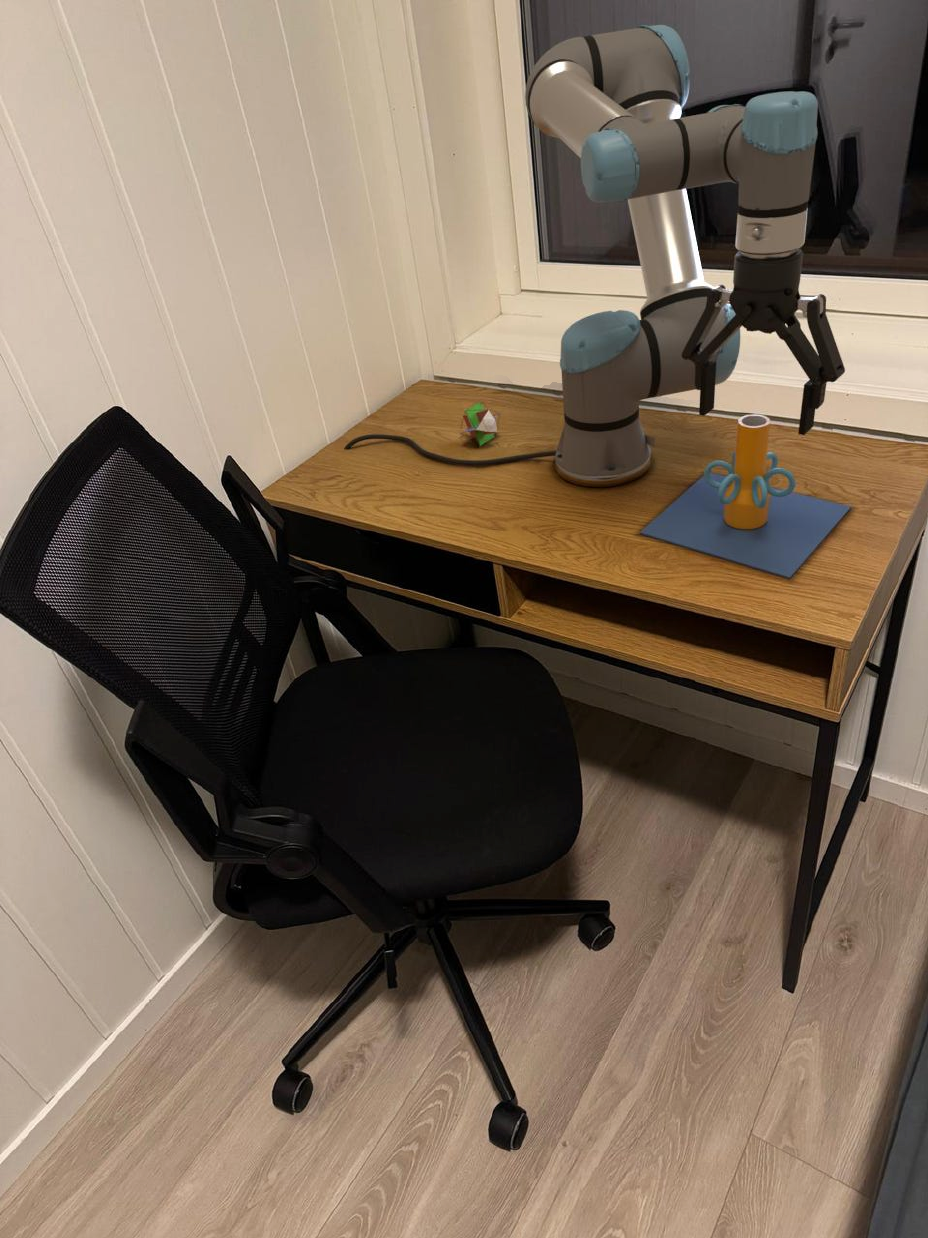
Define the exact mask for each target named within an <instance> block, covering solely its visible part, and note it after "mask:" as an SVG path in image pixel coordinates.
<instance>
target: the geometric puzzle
mask: <svg viewBox="0 0 928 1238" xmlns="http://www.w3.org/2000/svg"><path fill="white" fill-rule="evenodd" d="M483 405H484V407H485V408H486V409H485V408H484V407H483ZM489 408H490V409H489ZM492 411H494V410H493V408H491V407H489V406H488V405H486V404H485V403H484V402H482V401H481V400H480V401H479V402H477V403H475V404H473V405H472V406H471V407H469V408H467V409H464V413H463V415H462V419H461V426H460V429H462V427H463V422H465V425H466V427H467V428H466V429H464V430H463V431H462V430H460V432H459V434H460V435H462V436H464V437H465V436H466V437H465V438H466V439H468V440H470V441H471V442H473V443H475V444H476V445H477V446H479V447H481V446H483V445H484V444H487V442H489V441H490V440H492V439H493V438H496V436H497V433H499V430H498V427H499V424H497V422H500V419H498V420H496V418H497V417H499V418H501V413H498V414H497V411H494V413H496V414H495V415H493V414H492ZM464 433H469V434H470V435H467V434H464ZM469 438H471V439H474V438H476V440H477V441H476V440H473V441H472V440H471V439H469Z"/></svg>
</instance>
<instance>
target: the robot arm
mask: <svg viewBox="0 0 928 1238" xmlns="http://www.w3.org/2000/svg"><path fill="white" fill-rule="evenodd" d="M689 74H690V63H689V59H688V54H687V50H686V48H685V45H684V42H683V40H682V38H681V36H680V35H679V34H678V32H677V31H676V30H675V29H673V28H672V27H670V26H667V25H665V24H656V25H647V24H641V25H638V26H636V27H635V28H628V29H622V30H615V31H610V32H609V31H608V32H604V33H597V34H591V35H585V36H575V37H571V38H568V39H565V40H563V41H561V42H559V43H558V44H555V45H554V46H552V47H551V48H550V49H549V50H547V51H546V52H545V53H544V54H543V55H542V56H541V57H540V58H539V59H538V60H537V61H536V63H535V64H534V66H533V67H532V70H531V71H530V74H529V76H528V78H527V82H526V85H525V95H524V100H525V107H526V111H527V113H528V115H529V119H530V120H531V121H532V123H533V124H534V125H535V126H536V128H537V129H539V130H540V131H541V132H542V133H543V134H545V135H547V136H549V137H552V138H557V139H560V140H561V141H562V142H563V143H564V144H565V145H566V146H567V147H568V148H569V149H570V150H572V152H574V154H575V155H577V156H578V157H579V159H580V173H581V182H582V185H583V188H584V189H585V195H586V196H587V198H588V199H589V200H590V201H591V202H593V203H596V204H602V203H610V202H614V203H623V202H625V201H627V203H628V208H629V214H630V219H631V223H632V224H631V225H632V229H633V233H634V238H635V244H636V248H637V249H636V250H637V253H638V258H639V265H640V268H641V274H642V279H643V284H644V289H645V293H646V294H645V295H646V300H645V301H644V303H643V305H642V306H641V308H640V310H639V316H640V319H639V317H638V315H637V314H636V313H635V312H632V311H629V310H624V309H623V310H622V309H618V310H616V311H613V310H605V311H600V312H597V313H594V314H590V315H587V316H585V317H582V318H580V319H579V320H577V321H575V322H574V323H572V324H571V325H570V326H569V327H568V328H567V329H566V330H565V331H564V332H563V334H562V337H561V340H560V359H559V366H560V367H559V368H560V369H561V386H562V403H563V418H564V419H563V420H564V423H563V426H562V431H561V434H560V438H559V441H558V444H557V447H556V450H546V451H540V452H532V453H526V454H525V453H524V454H518V455H512V456H505V457H498V458H492V459H480V460H479V459H478V460H477V459H476V460H474V459H459V458H452V457H447V456H443V455H441V454H440V455H439V454H436V453H433V452H430V451H428V450H426V449H424V448H422V447H420V445H419V444H417V443H416V442H415V441H414V440H413V439H411V438H409V437H406V436H401V435H392V434H381V433H379V434H378V433H377V434H376V433H375V434H374V433H373V434H365V435H361V436H358V437H355V438H353V439H352V440H350V441H349V442H348V443H347V444H346V445H345V446H344V448H343V449H344V450H350V449H351V448H352V447H353V446H355V445H356V444H357V443H360V442H362V441H368V440H387V441H388V440H389V441H398V442H399V441H400V442H403V443H406V444H408V445H410V446H411V447H412V448H413V449H414V450H416V451H417V452H418V453H420V454H421V455H423V456H425V457H428V458H430V459H433V460H436V461H439V462H444V463H448V464H453V465H460V466H461V465H462V466H488V465H489V466H490V465H496V464H504V463H509V462H516V461H523V460H530V459H538V458H545V457H554V463H555V471H556V473H557V474H558V475H559V477H561V478H562V479H563V480H565V481H567V482H568V483H571V484H574V485H578V486H583V487H592V488H604V487H613V486H619V485H624V484H626V483H629V482H632V481H635V480H636V479H639V478H641V477H642V476H643V475H644V474H645V473H647V471H648V470H649V469H650V467H651V460H652V459H651V457H652V456H651V454H652V453H651V452H652V451H651V448H650V446H651V447H653V448H655V438H654V437H652V436H650V435H647V434H646V433H645V431H644V428H643V425H642V423H641V420H640V401H643V400H647V399H653V398H658V397H663V396H668V395H674V394H679V393H684V392H685V393H686V392H689V391H694V390H696V391H699V407H698V412H699V413H698V416H703V417H704V416H706V415H708V413H710V412H711V411H712V410H714V409H715V397H716V386H718V385H720V384H723V383H724V382H726V381H727V380H728V379H729V378H730V377H731V375H732V374H733V373H734V370H735V368H736V365H737V362H738V359H739V355H740V348H741V328H742V327H743V328H744V329H745V330H746V332H758V331H759V332H761V333H764V334H769V335H771V334H772V333H776V335H777V337H778V338H779V339H780V340H781V341H784V343H785V344H786V346H787V348H788V349H789V350H790V352H791V354H792V355H793V356H794V358H795V360H796V361H797V363H798V364H799V366H800V368H801V369H802V370H803V372H804V373H805V375H806V377H807V378H808V380H807V381H806V383H804V384H803V391H802V400H801V408H800V416H799V423H798V432H797V433H798V435H799V436H805V435H806V434H807V433H808V432H809V431H810V430H811V429H813V427H814V423H815V415H816V410H818V409H819V408H820V407H821V406H822V405H823V404H824V402H825V398H826V391H827V383H835V382H836V381H837V380H839V379H840V378H841V377H842V376H843V375H844V374H845V372H846V368H845V365H844V362H843V359H842V357H841V353H840V350H839V348H838V345H837V342H836V339H835V336H834V334H833V330H832V327H831V325H830V321H829V318H828V315H827V297H826V296H825V295H824V294H822V293H821V294H819V293H818V294H817V295H816V296H814V297H813V296H812V297H802V296H801V295H800V283H801V278H802V277H801V275H802V268H803V267H802V266H803V257H804V252H803V251H802V249H801V248H802V247H803V246H804V244H805V242H806V241H805V240H806V231H807V221H808V210H809V209H808V207H809V201H810V200H809V199H810V192H811V185H812V184H811V183H812V176H813V167H814V159H815V151H816V144H817V140H818V134H819V133H818V126H817V125H818V124H817V123H818V122H817V121H818V109H819V103H818V98H817V97H816V95H815V94H813V93H811V92H810V91H804V90H803V91H800V90H799V91H793V90H792V91H791V90H790V91H778V92H777V91H776V92H769V93H765V94H761V95H757V96H754V97H752V98H751V99H749V100H748V101H747V103H746V105H745V106H744V105H743V104H739V103H737V104H736V103H734V104H730V105H729V104H722V105H717V106H715V107H713V108H711V109H710V110H708V111H707V112H706V113H699V114H696V115H695V114H694V115H690V116H689V115H688V116H682V108H683V107H684V106H685V105H686V103H687V101H688V97H689V92H690V85H691V84H690V82H691V81H690V78H689ZM681 116H682V117H681ZM722 183H733V184H736V185H738V201H737V203H738V205H737V216H736V217H737V219H736V233H735V234H736V235H735V248H736V249H737V252H736V254H735V255H734V261H733V277H732V283H733V288H732V289H727V288H726V286H725V285H724V284H718V285H717V286H712V285H711V284H709V283H707V282H706V281H705V280H704V274H703V269H702V264H701V259H700V255H699V254H700V253H699V250H698V243H697V238H696V233H695V229H694V228H695V227H694V223H693V219H692V213H691V208H690V202H689V198H688V193H687V189H693V188H698V187H704V186H709V185H716V184H722ZM728 302H729V303H728ZM798 310H800V311H801V313H802V316H803V317H804V318H806V322H807V326H808V330H809V332H810V335H811V338H812V340H813V341H812V342H813V344H814V346H813V344H812V343H811V341H810V340H809V338H808V337H807V336H806V334H805V333H804V331H803V329H802V328H801V322H800V321H799V319H798V317H796V313H797V311H798ZM814 347H815V348H814Z"/></svg>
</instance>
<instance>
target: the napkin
mask: <svg viewBox="0 0 928 1238" xmlns="http://www.w3.org/2000/svg"><path fill="white" fill-rule="evenodd" d="M710 477H711V478H712V480H713V481H715V482H717V483H722V481H723V480H724V479H725V478H726V477H727V475H726V476H725V475H721V474H718V473H714V472H710ZM770 487H771V486H770ZM771 488H772V489H774V490H776V491H784V490H785V489H781V488H775V487H771ZM727 489H728V487H727V488H725V490H724V498H725V492H726V490H727ZM718 490H719V489H718V488H714V487H712V486H711V485H709V484H708V483H707V481H706V479H705V477H704V475H703V476H702V477H700V478H699V479H698V480H697V481H696V482H694V483H693V484H692V485H691V486H690V487H689V488H688V489H686V491H685V492H683V493H682V494H681V495H680V496H679V497H678V498H677V499H676V500H674V501H673V502H672V503H670V504H669V506H667V508H665V509H664V510H663V511H662V512H661V513H659V515H657V516H656V517H655V518H654V519H653V520H652V521H650V522H649V523H648V524H647V525H646V526H645V527H644V528H643V529H642V530H641V531H639V535H642V536H646V537H649V538H651V539H656V540H659V541H662V542H664V543H669V544H671V545H674V546H678V547H682V548H685V549H688V550H692V551H695V552H698V553H702V554H705V555H708V556H711V557H714V558H718V559H721V560H725V561H728V562H731V563H735V564H738V565H742V566H743V567H744V566H745V567H747V568H752V569H755V570H758V571H761V572H764V573H768V574H771V575H774V576H777V577H781V578H785V579H788V580H791V579H792V577H793V576H794V575H795V574H796V573H797V572H798V570H799V569H800V568H801V567H802V566H803V565H804V564H805V562H807V560H808V559H809V558H810V556H811V555H812V554H813V553H814V552H815V551H816V550H817V549H818V547H819V546H820V545H821V544H822V543H823V541H824V540H825V539H826V538H827V537H828V536H829V534H830V533H831V532H832V531H833V530H834V529H835V527H837V525H838V524H839V523H840V522H841V521H842V519H843V518H844V517H845V516H846V515H847V514H848V513H849V512H850V510H851V509H852V506H851V505H846V504H842V503H838V502H834V501H830V500H826V499H821V498H817V497H813V496H808V495H806V494H800V493H797V492H793V491H792V492H791V493H790V494H789V495H786V496H783V497H777V496H773V495H771V494H770V503H769V512H768V520H767V522H766V523H765V524H764V525H763V526H761V527H759V528H755V529H748V530H747V529H738V528H734V527H731V526H729V525H728V524H727V523H726V522H725V520H724V517H723V516H724V504H722V503H720V502H719V500H718Z"/></svg>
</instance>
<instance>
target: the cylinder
mask: <svg viewBox="0 0 928 1238" xmlns="http://www.w3.org/2000/svg"><path fill="white" fill-rule="evenodd" d="M737 420H738V421H737V427H736V428H737V430H736V440H735V441H736V442H735V450H734V452H733V453H732V456H731V464H730V463H729V462H727V461H725V460H713V461H711V462H709V463H708V464H707V465H706V467H705V468H704V472H703V476H704V477H705V479H706V481H707V483H708V484H709V485H711V486H712V487H714V488H718V489H719V490H718V500H719V502H720V503H722V504H724V516H723V517H724V520H725V522H726V523H727V524H728V525H729V526H731V527H734V528H738V529H747V530H748V529H755V528H759V527H761V526H763V525H764V524H765V523H766V522H767V520H768V512H769V503H770V494H771V495H773V496H777V497H783V496H786V495H789V494H790V493H791V492H793V491H794V490H795V488H796V483H797V481H796V477H795V476H794V474H793V473H792V472H791V471H790V470H788V469H785V468H782V467H778V465H779V457H778V454H776V453H775V452H772V451H769V452H768V449H769V448H768V446H769V438H770V426H771V418H769V417H768V416H766V415H763V414H758V413H757V414H756V413H751V414H745V415H743V416H740V417H739V418H738V419H737ZM770 459H771V464H770V465H771V466H770V467H769V470H768V471H767V472H766V468H767V467H766V466H767V462H768V460H770ZM716 467H721V468H724V469H725V470H726V471H727V473H728V475H726V478H725V479H724V480H723V481H722V483H717V482H715V481H713V480H712V478H711V477H710V473H711V471H712V469H714V468H716ZM774 475H782V476H784V477H786V478H787V479H788V482H789V485H788V487H786V489H783V490H784V491H776V490H774V489H772V488H773V487H772V488H771V485H770V479H771V478H772V477H773V476H774ZM727 487H728V489H727V490H726V492H725V498H724V490H725V488H727Z"/></svg>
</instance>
